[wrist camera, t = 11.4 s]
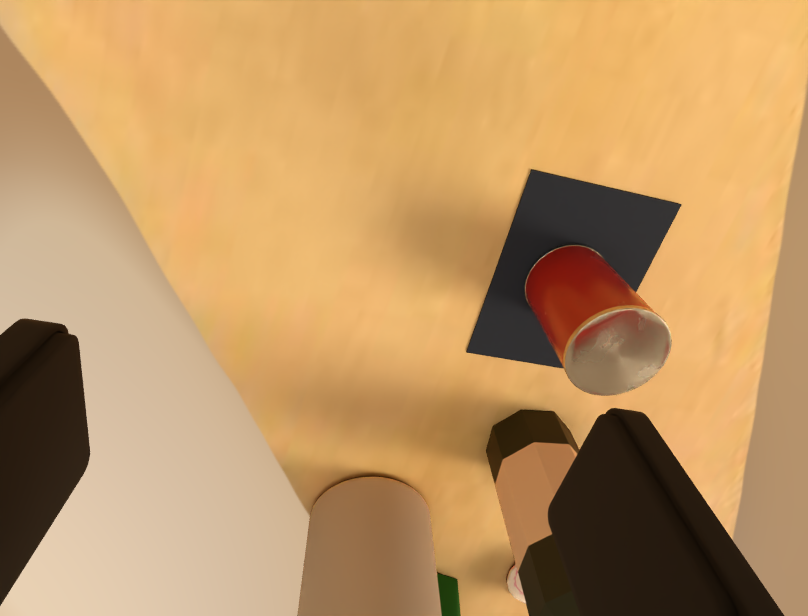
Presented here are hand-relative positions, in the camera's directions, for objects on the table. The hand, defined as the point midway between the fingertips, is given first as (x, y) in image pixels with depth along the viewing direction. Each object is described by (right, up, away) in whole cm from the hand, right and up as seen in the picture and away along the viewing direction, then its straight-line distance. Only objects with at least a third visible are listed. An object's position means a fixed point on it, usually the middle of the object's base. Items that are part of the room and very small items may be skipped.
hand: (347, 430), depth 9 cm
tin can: (+14, +4, +31) cm, 34 cm away
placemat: (+14, +4, +31) cm, 34 cm away
